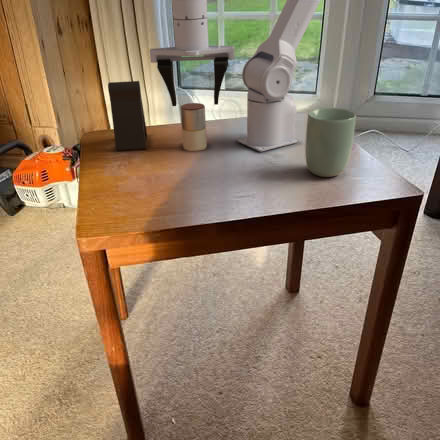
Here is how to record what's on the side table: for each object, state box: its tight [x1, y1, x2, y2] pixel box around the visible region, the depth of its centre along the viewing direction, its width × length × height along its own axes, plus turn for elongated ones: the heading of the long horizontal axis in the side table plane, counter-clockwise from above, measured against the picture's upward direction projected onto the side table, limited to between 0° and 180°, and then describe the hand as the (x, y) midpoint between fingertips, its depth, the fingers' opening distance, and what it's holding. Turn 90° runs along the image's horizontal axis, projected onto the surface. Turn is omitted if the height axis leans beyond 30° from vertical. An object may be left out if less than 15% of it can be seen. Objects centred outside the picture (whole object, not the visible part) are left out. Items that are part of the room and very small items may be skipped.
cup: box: [304, 107, 357, 178], centre depth 76 cm, size 8×8×10 cm
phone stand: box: [107, 80, 148, 152], centre depth 92 cm, size 9×6×12 cm, turn 5°
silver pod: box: [179, 102, 207, 131], centre depth 89 cm, size 5×5×4 cm
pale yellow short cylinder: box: [181, 126, 208, 152], centre depth 91 cm, size 5×5×4 cm
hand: (195, 104), depth 83 cm, fingers open, 7 cm apart
